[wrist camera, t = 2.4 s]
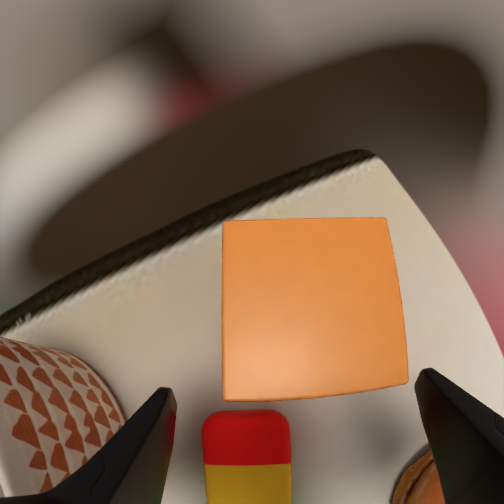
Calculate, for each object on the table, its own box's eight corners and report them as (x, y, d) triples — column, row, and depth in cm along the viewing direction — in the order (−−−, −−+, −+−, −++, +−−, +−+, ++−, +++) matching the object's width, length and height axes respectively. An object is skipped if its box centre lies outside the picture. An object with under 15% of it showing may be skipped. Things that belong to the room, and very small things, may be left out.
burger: (367, 500, 14) (391, 525, 10) (452, 411, 16) (489, 415, 12) (424, 542, 11) (448, 562, 7) (494, 465, 13) (526, 472, 9)
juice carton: (317, 374, 18) (410, 383, 6) (248, 377, 18) (222, 402, 6) (313, 307, 20) (386, 216, 8) (246, 310, 20) (222, 219, 8)
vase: (16, 468, 14) (-80, 482, 2) (12, 336, 19) (-96, 298, 7) (140, 523, 13) (55, 603, 1) (136, 365, 18) (-2, 346, 6)
